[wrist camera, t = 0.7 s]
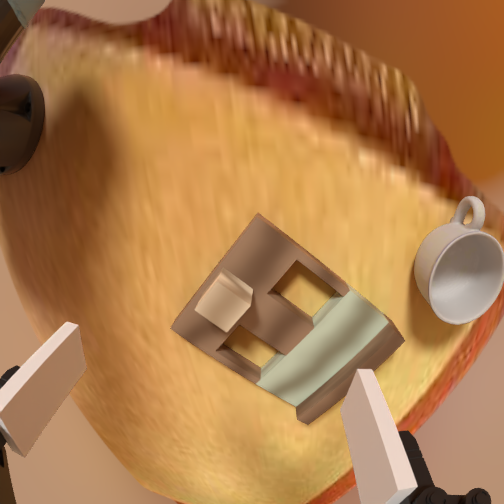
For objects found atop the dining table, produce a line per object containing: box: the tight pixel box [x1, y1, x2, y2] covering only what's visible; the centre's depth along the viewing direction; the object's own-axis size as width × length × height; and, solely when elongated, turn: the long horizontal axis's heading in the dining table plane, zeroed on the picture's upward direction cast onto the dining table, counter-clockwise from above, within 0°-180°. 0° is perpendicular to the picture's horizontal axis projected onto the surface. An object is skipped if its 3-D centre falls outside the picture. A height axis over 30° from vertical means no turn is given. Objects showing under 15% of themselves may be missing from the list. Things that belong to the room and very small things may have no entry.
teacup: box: [414, 196, 504, 325], centre depth 29 cm, size 14×11×8 cm
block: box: [195, 267, 253, 332], centre depth 32 cm, size 4×4×4 cm
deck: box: [170, 213, 405, 425], centre depth 35 cm, size 22×17×5 cm
